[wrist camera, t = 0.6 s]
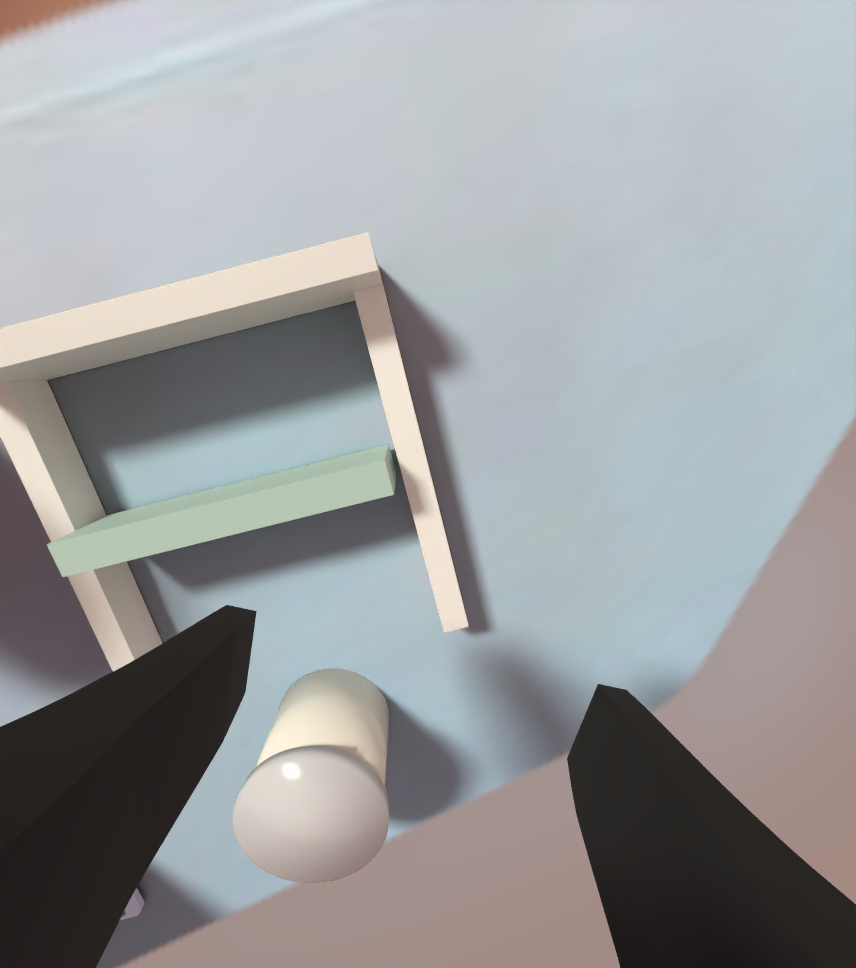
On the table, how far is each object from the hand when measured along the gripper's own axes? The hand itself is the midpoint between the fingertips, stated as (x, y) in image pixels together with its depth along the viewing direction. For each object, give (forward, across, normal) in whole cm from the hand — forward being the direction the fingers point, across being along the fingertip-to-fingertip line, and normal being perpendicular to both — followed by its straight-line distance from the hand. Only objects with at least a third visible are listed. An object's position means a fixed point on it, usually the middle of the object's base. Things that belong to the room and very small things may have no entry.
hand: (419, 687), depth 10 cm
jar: (+9, +2, +10) cm, 14 cm away
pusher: (+10, +7, +1) cm, 12 cm away
